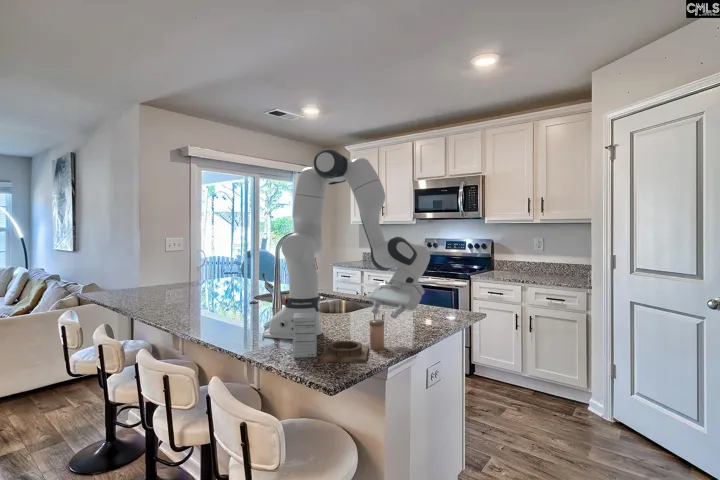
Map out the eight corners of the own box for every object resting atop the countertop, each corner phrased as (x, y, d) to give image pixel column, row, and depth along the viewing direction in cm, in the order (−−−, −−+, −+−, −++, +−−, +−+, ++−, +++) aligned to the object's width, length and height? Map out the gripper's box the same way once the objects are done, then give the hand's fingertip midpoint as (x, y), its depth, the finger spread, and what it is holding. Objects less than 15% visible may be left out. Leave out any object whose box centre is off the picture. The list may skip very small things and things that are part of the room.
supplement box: (294, 350, 129) (294, 312, 129) (317, 349, 130) (316, 312, 129) (292, 358, 122) (292, 317, 121) (316, 357, 122) (316, 317, 122)
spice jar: (369, 350, 129) (368, 323, 128) (370, 345, 134) (369, 319, 133) (384, 350, 128) (384, 323, 128) (384, 345, 133) (384, 319, 133)
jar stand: (319, 361, 118) (319, 351, 118) (327, 347, 132) (327, 339, 132) (365, 362, 116) (365, 352, 116) (368, 348, 130) (368, 339, 130)
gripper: (378, 275, 146) (358, 305, 140) (419, 280, 130) (399, 314, 124) (386, 286, 149) (367, 315, 143) (428, 292, 133) (409, 325, 127)
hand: (383, 315), depth 133 cm, fingers open, 8 cm apart
